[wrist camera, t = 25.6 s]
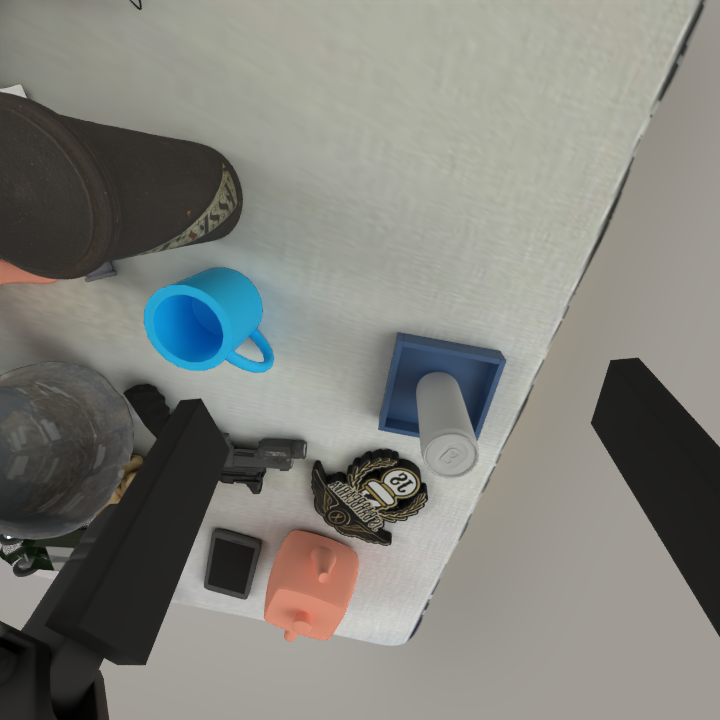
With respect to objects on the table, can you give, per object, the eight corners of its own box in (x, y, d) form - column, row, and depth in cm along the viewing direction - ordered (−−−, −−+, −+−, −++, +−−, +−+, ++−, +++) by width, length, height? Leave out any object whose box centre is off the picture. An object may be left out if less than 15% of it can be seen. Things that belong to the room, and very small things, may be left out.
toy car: (4, 580, 56) (30, 550, 60) (142, 586, 57) (157, 557, 61) (-16, 536, 52) (13, 508, 56) (132, 544, 53) (149, 516, 57)
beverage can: (467, 385, 41) (493, 453, 31) (439, 414, 43) (454, 488, 32) (433, 361, 41) (447, 422, 30) (406, 392, 42) (410, 460, 32)
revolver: (304, 387, 45) (310, 486, 50) (131, 380, 46) (156, 477, 52) (299, 400, 42) (305, 502, 48) (114, 392, 43) (143, 493, 49)
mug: (176, 305, 41) (127, 329, 34) (216, 250, 38) (173, 264, 31) (260, 374, 44) (233, 411, 36) (304, 328, 41) (284, 358, 34)
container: (190, 253, 39) (7, 307, 21) (141, 163, 36) (-126, 132, 17) (262, 222, 37) (130, 249, 19) (217, 123, 34) (5, 41, 15)
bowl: (77, 491, 53) (154, 482, 48) (-102, 584, 37) (-12, 583, 32) (33, 372, 51) (110, 350, 46) (-177, 414, 35) (-92, 386, 30)
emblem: (363, 548, 54) (451, 505, 49) (362, 557, 53) (453, 514, 48) (289, 477, 50) (378, 422, 45) (286, 485, 48) (377, 429, 44)
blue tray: (500, 350, 40) (506, 360, 38) (470, 435, 45) (474, 448, 42) (397, 332, 40) (398, 340, 38) (379, 418, 45) (378, 430, 43)
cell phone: (205, 584, 61) (202, 589, 60) (214, 526, 55) (212, 530, 54) (248, 596, 61) (246, 601, 60) (262, 539, 55) (261, 544, 54)
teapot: (266, 575, 58) (241, 649, 49) (300, 496, 51) (278, 565, 41) (335, 598, 59) (323, 675, 50) (377, 523, 52) (373, 597, 42)
